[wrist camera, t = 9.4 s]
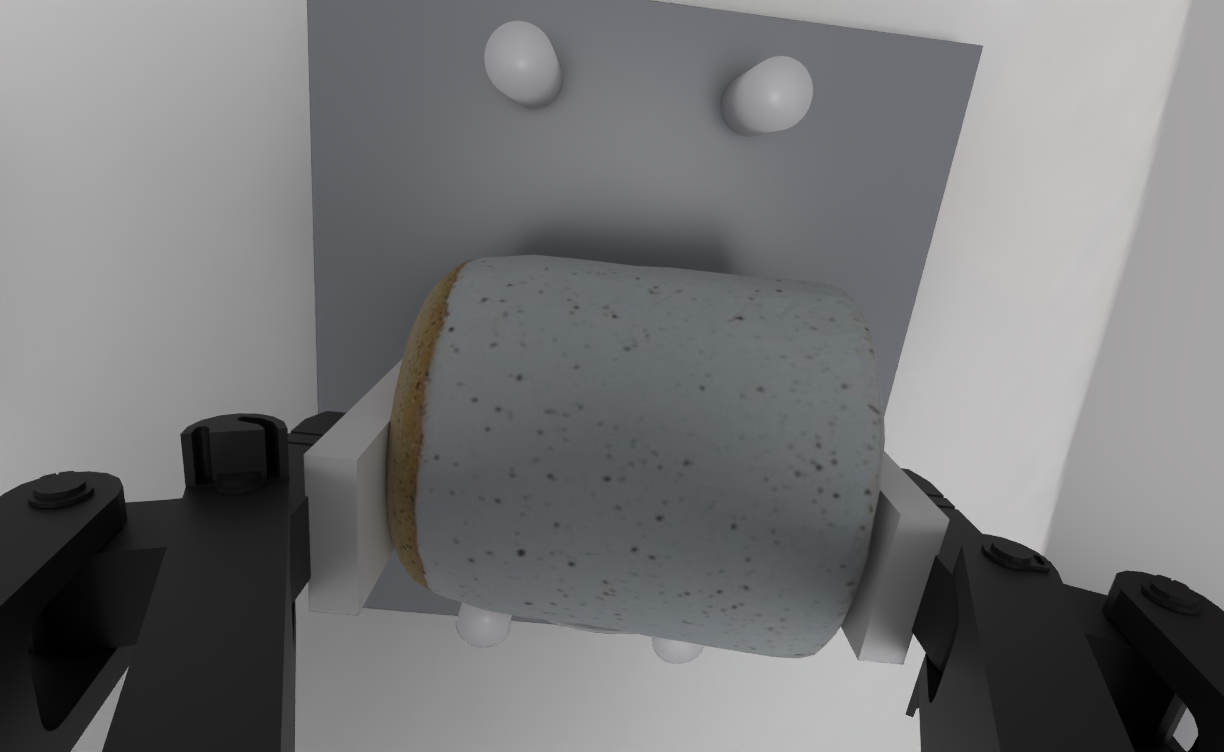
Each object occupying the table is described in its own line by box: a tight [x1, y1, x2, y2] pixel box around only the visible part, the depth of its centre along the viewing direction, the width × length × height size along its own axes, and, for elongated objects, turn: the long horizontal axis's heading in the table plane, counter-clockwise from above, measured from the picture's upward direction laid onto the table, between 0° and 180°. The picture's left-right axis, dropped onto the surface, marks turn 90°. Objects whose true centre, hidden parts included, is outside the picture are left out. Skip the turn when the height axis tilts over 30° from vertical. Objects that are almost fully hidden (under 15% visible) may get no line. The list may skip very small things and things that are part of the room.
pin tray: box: [307, 0, 983, 664], centre depth 19 cm, size 18×20×4 cm
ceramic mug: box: [386, 255, 885, 658], centre depth 14 cm, size 11×8×8 cm
